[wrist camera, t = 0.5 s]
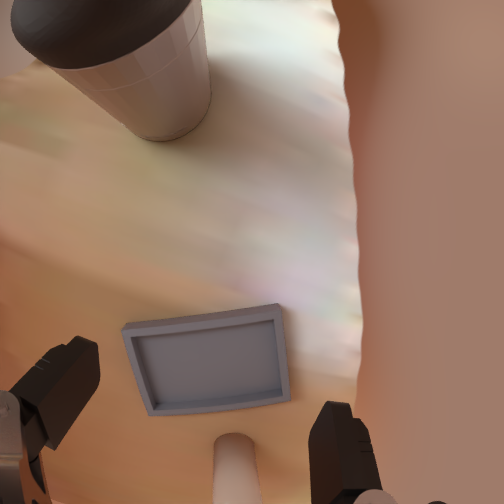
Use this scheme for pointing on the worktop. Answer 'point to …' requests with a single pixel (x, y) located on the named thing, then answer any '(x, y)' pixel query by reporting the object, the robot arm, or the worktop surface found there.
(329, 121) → the worktop surface
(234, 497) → the canister
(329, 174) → the worktop surface
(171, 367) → the dish
